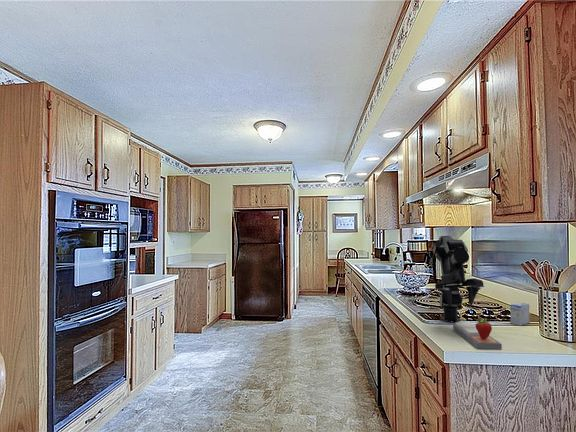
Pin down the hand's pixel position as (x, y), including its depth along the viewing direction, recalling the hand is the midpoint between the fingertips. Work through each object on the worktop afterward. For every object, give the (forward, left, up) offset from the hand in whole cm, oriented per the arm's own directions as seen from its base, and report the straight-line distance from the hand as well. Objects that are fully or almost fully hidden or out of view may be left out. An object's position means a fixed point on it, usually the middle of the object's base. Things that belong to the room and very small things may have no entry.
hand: (460, 305), depth 146 cm
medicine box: (-32, +14, -11) cm, 36 cm away
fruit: (+9, +12, -9) cm, 17 cm away
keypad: (+4, +7, -11) cm, 13 cm away
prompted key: (+9, +12, -11) cm, 18 cm away
